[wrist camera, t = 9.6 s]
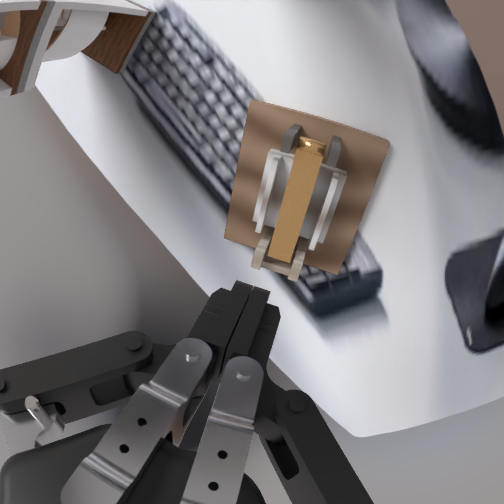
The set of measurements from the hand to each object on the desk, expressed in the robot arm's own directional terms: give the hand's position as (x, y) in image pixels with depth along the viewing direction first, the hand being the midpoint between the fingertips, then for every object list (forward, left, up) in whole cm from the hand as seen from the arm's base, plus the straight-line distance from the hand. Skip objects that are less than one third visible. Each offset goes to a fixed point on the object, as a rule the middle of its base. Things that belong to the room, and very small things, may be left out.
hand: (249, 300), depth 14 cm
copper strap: (+6, 0, -25) cm, 26 cm away
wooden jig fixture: (+7, 0, -31) cm, 32 cm away
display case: (-12, -33, -31) cm, 47 cm away
